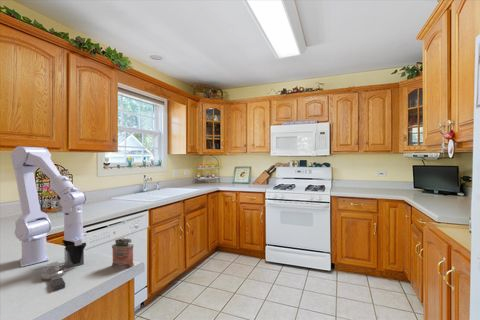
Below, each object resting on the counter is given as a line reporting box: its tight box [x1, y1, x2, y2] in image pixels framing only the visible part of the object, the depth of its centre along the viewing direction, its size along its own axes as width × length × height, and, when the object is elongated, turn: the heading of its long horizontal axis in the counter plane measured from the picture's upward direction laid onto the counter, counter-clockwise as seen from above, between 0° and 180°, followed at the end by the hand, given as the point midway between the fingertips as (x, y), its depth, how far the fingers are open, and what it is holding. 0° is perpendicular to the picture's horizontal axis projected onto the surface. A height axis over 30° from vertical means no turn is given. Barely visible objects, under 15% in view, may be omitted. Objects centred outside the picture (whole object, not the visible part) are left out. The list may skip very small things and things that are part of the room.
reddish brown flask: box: [111, 237, 135, 269], centre depth 87 cm, size 8×3×10 cm, turn 80°
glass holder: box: [50, 194, 63, 213], centre depth 184 cm, size 9×14×15 cm, turn 166°
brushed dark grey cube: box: [63, 247, 85, 269], centre depth 89 cm, size 5×5×6 cm
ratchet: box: [41, 261, 66, 292], centre depth 76 cm, size 15×6×4 cm, turn 45°
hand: (74, 260), depth 89 cm, fingers open, 7 cm apart
